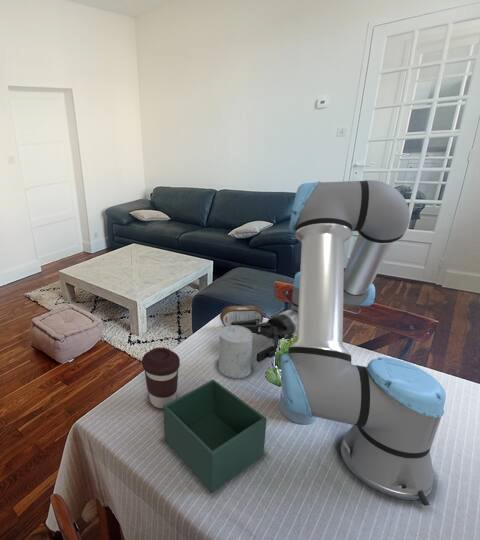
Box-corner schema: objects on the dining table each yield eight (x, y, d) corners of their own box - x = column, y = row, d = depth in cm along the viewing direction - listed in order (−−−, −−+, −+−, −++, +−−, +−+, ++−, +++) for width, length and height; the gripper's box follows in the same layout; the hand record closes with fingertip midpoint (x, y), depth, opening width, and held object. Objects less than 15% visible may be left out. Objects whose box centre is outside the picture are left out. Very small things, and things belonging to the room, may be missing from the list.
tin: (261, 324, 125) (262, 304, 122) (263, 329, 122) (265, 308, 119) (219, 325, 127) (219, 305, 124) (221, 330, 124) (221, 309, 121)
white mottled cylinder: (254, 363, 105) (256, 329, 100) (247, 381, 97) (249, 345, 93) (223, 355, 110) (224, 322, 105) (214, 372, 102) (214, 338, 98)
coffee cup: (139, 394, 96) (135, 349, 91) (169, 383, 99) (168, 340, 94) (154, 417, 88) (151, 370, 82) (187, 405, 91) (186, 359, 85)
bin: (263, 455, 75) (266, 418, 71) (211, 493, 68) (212, 454, 64) (212, 412, 88) (213, 379, 84) (164, 440, 81) (163, 405, 77)
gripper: (320, 352, 102) (274, 379, 93) (252, 320, 123) (209, 339, 113) (323, 330, 99) (276, 356, 90) (253, 301, 120) (209, 320, 111)
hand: (238, 347), depth 102 cm, fingers open, 13 cm apart
